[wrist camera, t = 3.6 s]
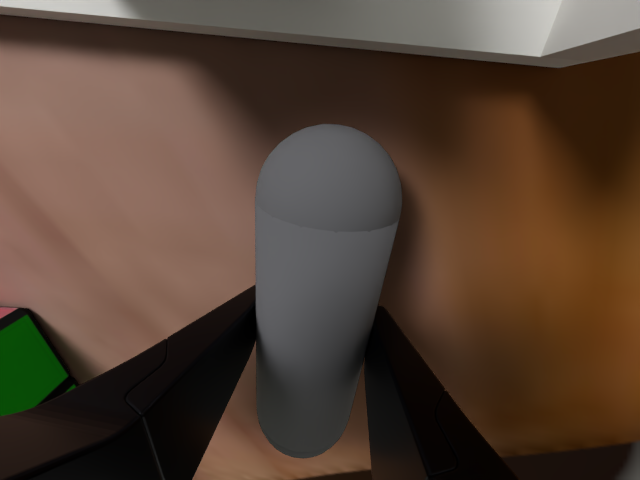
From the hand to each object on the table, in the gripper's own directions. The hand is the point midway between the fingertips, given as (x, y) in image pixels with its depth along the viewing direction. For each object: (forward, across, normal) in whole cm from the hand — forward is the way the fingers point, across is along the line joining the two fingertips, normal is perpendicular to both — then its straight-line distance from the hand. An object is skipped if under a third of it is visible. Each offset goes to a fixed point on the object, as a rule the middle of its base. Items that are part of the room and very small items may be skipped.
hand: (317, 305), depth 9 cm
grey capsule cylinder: (+1, 0, 0) cm, 1 cm away
